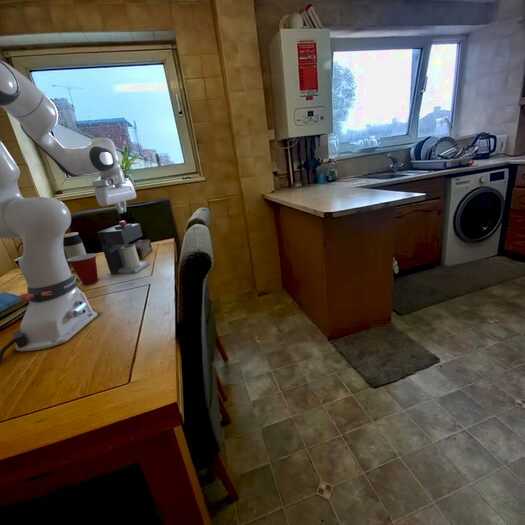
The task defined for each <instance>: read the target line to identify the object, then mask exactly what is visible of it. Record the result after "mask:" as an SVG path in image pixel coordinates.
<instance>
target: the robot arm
mask: <svg viewBox="0 0 525 525" xmlns="http://www.w3.org/2000/svg"><path fill="white" fill-rule="evenodd" d="M0 107H1V108H2V109H3V111H5V112H7V113H8V114H9V115H11V117H13V118H14V119H15V120H16V121H17V122H18V123H19V124H20V125H19V126H20V128H21V130H22V132H23V133H24V134H25V135H26V136H27V137H28V139H30V141H31V142H33V143H34V145H36V146H37V148H39V149H40V150H41V151H43V153H45V155H46V156H48V157H49V158H50V159H51V160H52V161H53V162H54V163H55V164H56V166H57V167H58V168H59V170H60V171H61V172H62V173H63V174H65V175H66V176H68V177H71V178H76V177H81V176H85V175H93V174H99V177H98V178H96V179H94V180H93V181H92V183H91V184H92V187H93V188H94V194H95V198H96V201H97V203H98V205H99V206H101V207H107V206H111V205H113V206H114V208H116V210H117V211H118V214H124V213H126V212H127V201H131V200H134V199H137V193H136V189H135V187H134V185H133V183H132V181H131V180H130V179H129V178H127V177H126V178H125V174H124V171H123V169H122V167H121V160H120V156H119V153H118V150H117V147H116V145H115V143H114V142H113V140H112V139H111V138H108V137H105V136H103V137H102V136H99V137H92V138H91V142H90V143H89V144H88V145H86V146H82V147H75V148H69V147H65V146H63V145H62V144H61V143H60V142H59V141H58V139H56V138H55V137H54V136H53V135H52V134H51V132H52V131H53V130H54V129H55V127H56V125H57V124H58V120H59V114H58V109H57V107H56V105H55V104H54V102H53V101H52V100H51V99H50V98H49V97H48V96H47V95H46V94H45V93H44V92H43V91H42V90H41V89H40V88H39V87H38V86H37V85H36V84H34V83H33V82H32V81H31V80H30V79H28V78H27V77H26V76H25V75H24V74H22V73H21V72H20V71H18V70H17V69H15V68H14V66H11V65H10V64H9V63H7V62H5V61H2V60H0ZM20 176H21V170H20V167H19V166H18V165H17V163H16V161H15V160H14V158H13V157H12V155H11V154H10V152H9V151H8V150H7V148H6V146H5V145H4V143H3V142H2V140H0V239H6V240H14V239H15V240H16V239H21V241H22V246H23V247H22V248H23V253H22V255H21V257H20V258H19V260H18V267H19V269H20V271H21V273H22V276H23V278H24V280H25V282H26V284H27V293H20V294H19V300H20V301H21V302H24V301H28V302H29V303H28V305H27V308H26V310H25V312H24V315H23V317H22V320H21V322H20V324H19V330H16V331H14V332H12V336H13V337H12V338H13V339H11V340H10V341H9V342H8V343H6V344H5V345H4V346H3V347H2V348H1V349H0V363H1V362H2V360H3V358H4V354H5V353H6V351H7V350H8V349H10V347H12V346H13V345H14V344H15V346H14V349H15V351H17V352H32V351H39V350H45V349H48V348H53V347H56V346H58V345H59V346H60V345H61V344H65V343H66V342H68V341H69V340H70V339H72V338H73V337H74V336H75V335H76V334H78V332H80V331H81V330H82V329H83V328H84V327H86V326H87V325H88V324H89V323H91V321H93V320H94V319H95V318H97V317H98V315H99V314H98V313H97V311H96V310H93V309H92V306H91V304H90V302H89V301H88V298H87V297H86V294H85V293H84V291H83V292H82V290H81V289H79V288H78V283H77V278H76V277H75V276H74V274H73V273H72V271H71V269H70V267H69V266H68V263H67V260H66V257H65V254H64V248H63V240H64V234H66V232H67V230H68V229H69V228H70V226H71V224H72V215H71V211H70V209H69V208H68V206H67V205H66V204H65V203H64V202H63V201H61V200H60V199H57V198H51V197H44V196H31V197H24V196H23V194H22V193H21V191H20V188H19V183H18V180H19V178H20Z"/></svg>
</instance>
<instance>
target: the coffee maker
mask: <svg viewBox="0 0 525 525" xmlns="http://www.w3.org/2000/svg"><path fill="white" fill-rule="evenodd" d="M143 235H144V234H143V232H142V228H141V224H140V223H126V225H122V226H121V225H120V224H117V225H113V226H111V227H108V228H105V229H103V230H100V231H97V237H98V239H99V242H100V245H101V248H102V252H103V255H104V258H105V260H106V261H105V262H106V264H107V266H108V270H109V272H110V275H113V276H114V275H115V276H116V275H118V274H137V273H138V272H139V271H141V270H143V269H145V268H146V267H147V266H148V265H149V262H148V261H139V262H140V265H139V266H137V267H134V268H127V267H126V264H125V261H124V257H123V254H122V251H121V247H123V246H126V245H130V244H129V243H131V242H133V241H135V240H138V239H140V238H141V237H143Z"/></svg>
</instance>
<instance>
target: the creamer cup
mask: <svg viewBox="0 0 525 525" xmlns="http://www.w3.org/2000/svg"><path fill="white" fill-rule="evenodd" d="M121 251H122V254H123V257H124V261H125V264H126V267H127V268H134V267H137V266H139V265H140V262H141V261H140V259H139V258H138V254H137V251H136V247H135V245H132V244H129V245H126V246H123V247H121Z"/></svg>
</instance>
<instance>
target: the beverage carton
mask: <svg viewBox="0 0 525 525" xmlns="http://www.w3.org/2000/svg"><path fill="white" fill-rule="evenodd" d="M131 245H135V247H136V251H137V254H138V258H139V260H142V259H144V258H145V257H146V256H147V255H148V254H149V253H150V252H151V251H152V250H153V246H152V241H151V239H137V240H136V241H135V242H134V243H132V244H131Z"/></svg>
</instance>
